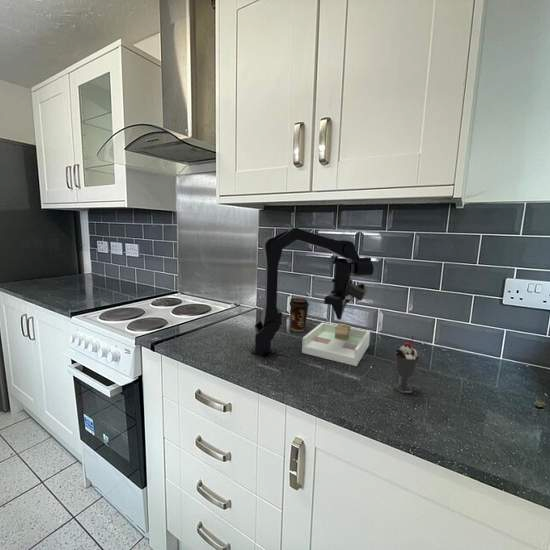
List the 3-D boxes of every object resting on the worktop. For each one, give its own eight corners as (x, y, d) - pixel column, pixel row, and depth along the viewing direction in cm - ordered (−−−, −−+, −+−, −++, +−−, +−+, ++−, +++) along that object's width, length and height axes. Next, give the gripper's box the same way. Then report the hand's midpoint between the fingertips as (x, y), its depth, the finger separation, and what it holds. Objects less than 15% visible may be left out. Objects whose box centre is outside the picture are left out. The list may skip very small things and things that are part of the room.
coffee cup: (284, 326, 130) (285, 297, 128) (300, 324, 134) (302, 296, 132) (293, 333, 123) (295, 302, 121) (311, 330, 126) (312, 301, 124)
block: (346, 340, 110) (347, 328, 109) (334, 338, 112) (335, 326, 111) (349, 336, 114) (350, 325, 113) (338, 334, 116) (339, 323, 115)
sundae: (415, 385, 84) (421, 335, 82) (417, 398, 78) (424, 344, 76) (390, 381, 86) (395, 331, 84) (390, 392, 80) (396, 340, 78)
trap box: (356, 366, 95) (357, 349, 94) (301, 352, 104) (302, 337, 103) (368, 345, 112) (370, 331, 112) (321, 335, 121) (322, 322, 120)
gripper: (359, 283, 92) (355, 331, 94) (371, 275, 108) (367, 316, 111) (325, 279, 97) (322, 324, 100) (341, 272, 113) (338, 311, 116)
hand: (339, 319), depth 106 cm, fingers closed
